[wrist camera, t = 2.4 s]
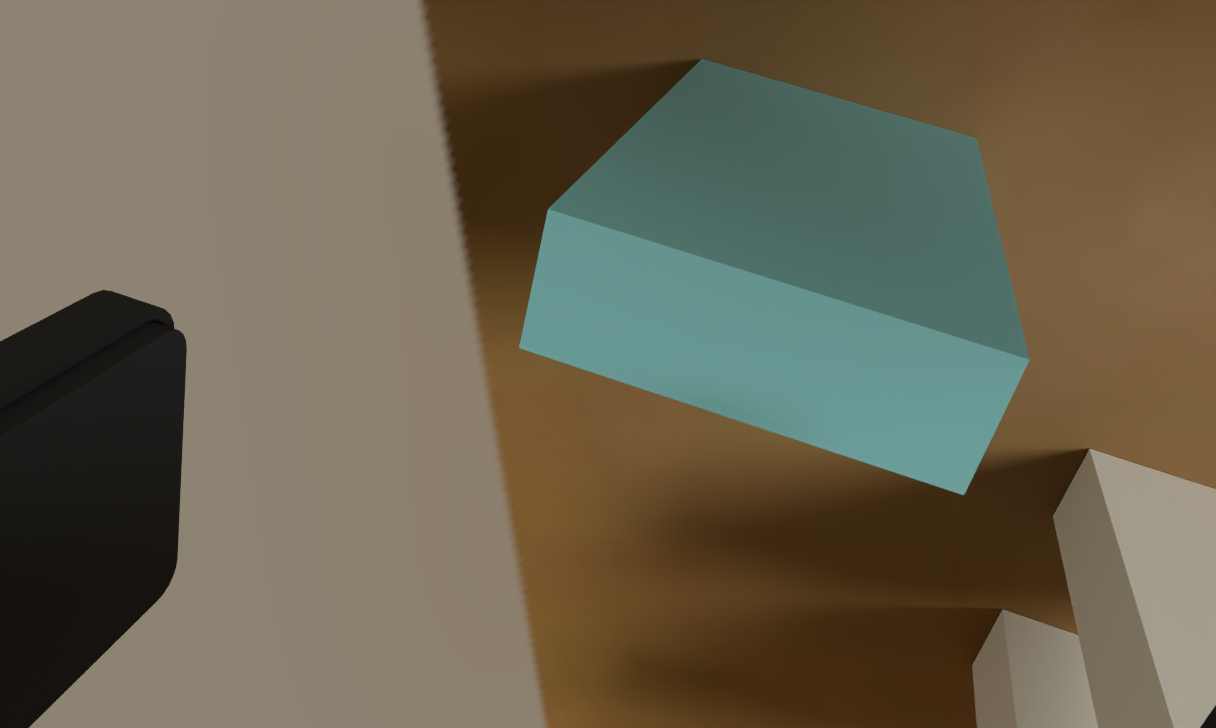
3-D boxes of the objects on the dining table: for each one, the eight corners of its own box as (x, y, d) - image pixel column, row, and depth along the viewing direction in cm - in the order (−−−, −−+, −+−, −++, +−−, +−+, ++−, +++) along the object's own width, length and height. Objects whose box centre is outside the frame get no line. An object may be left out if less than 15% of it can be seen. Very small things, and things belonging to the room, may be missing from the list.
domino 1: (702, 58, 22) (548, 209, 13) (976, 138, 22) (1030, 359, 12) (678, 147, 23) (519, 348, 14) (940, 225, 23) (964, 495, 13)
